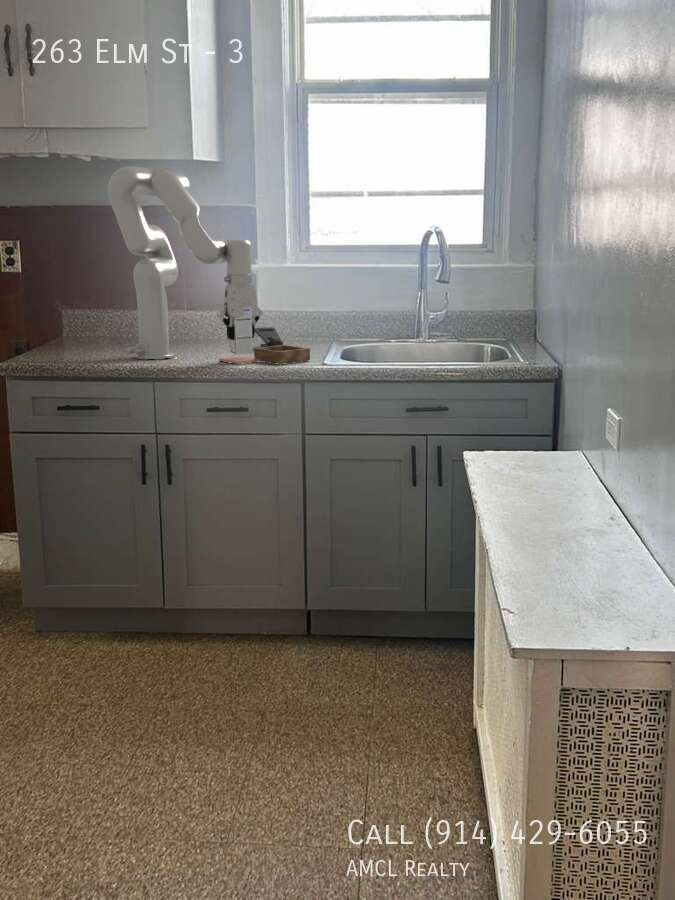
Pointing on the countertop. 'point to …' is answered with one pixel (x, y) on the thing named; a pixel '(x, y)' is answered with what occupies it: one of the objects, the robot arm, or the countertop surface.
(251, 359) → the terracotta tile
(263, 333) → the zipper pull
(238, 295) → the robot arm
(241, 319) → the syrup box
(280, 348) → the walnut caddy
